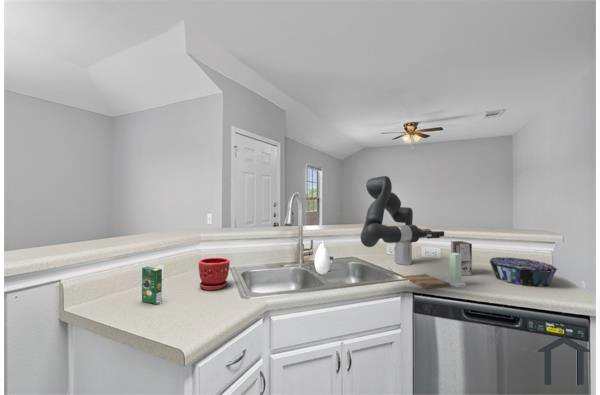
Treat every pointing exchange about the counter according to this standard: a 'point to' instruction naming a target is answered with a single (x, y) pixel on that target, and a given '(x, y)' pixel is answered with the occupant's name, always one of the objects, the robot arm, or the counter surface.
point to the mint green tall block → (455, 270)
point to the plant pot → (213, 273)
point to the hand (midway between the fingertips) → (436, 232)
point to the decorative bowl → (522, 271)
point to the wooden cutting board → (427, 281)
